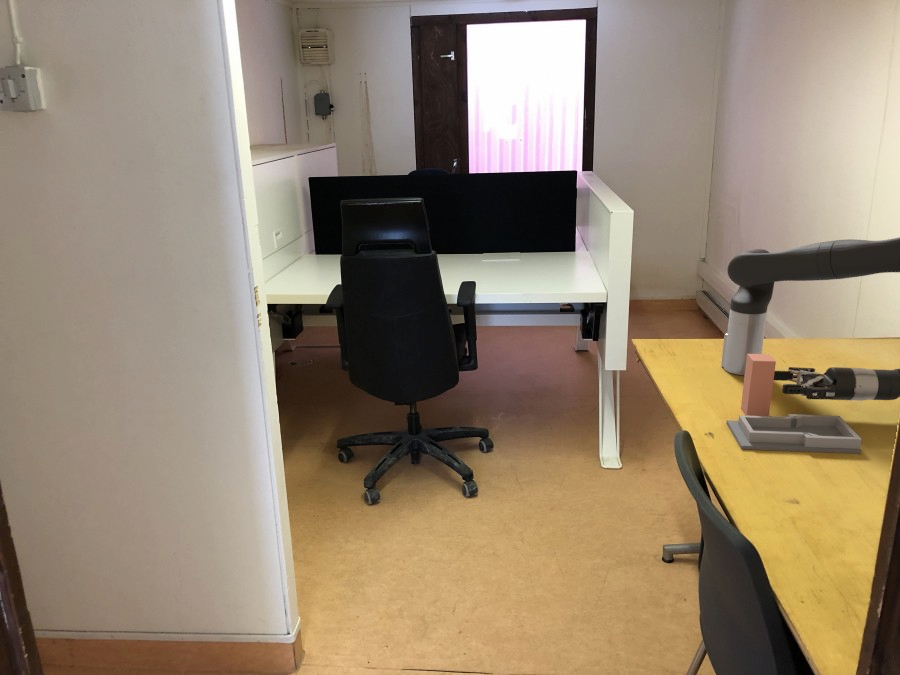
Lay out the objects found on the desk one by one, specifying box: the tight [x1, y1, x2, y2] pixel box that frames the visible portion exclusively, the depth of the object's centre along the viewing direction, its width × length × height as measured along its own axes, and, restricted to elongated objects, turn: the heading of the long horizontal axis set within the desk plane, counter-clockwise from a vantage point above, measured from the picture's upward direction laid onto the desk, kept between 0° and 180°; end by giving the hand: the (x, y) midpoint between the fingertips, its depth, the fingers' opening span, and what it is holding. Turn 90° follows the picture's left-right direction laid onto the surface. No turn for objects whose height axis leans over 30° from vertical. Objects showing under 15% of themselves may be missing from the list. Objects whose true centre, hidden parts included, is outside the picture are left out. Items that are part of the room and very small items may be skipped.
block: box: [740, 353, 777, 416], centre depth 170 cm, size 5×5×14 cm
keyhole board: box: [726, 413, 862, 454], centre depth 159 cm, size 24×13×3 cm, turn 83°
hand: (777, 381), depth 169 cm, fingers open, 8 cm apart
